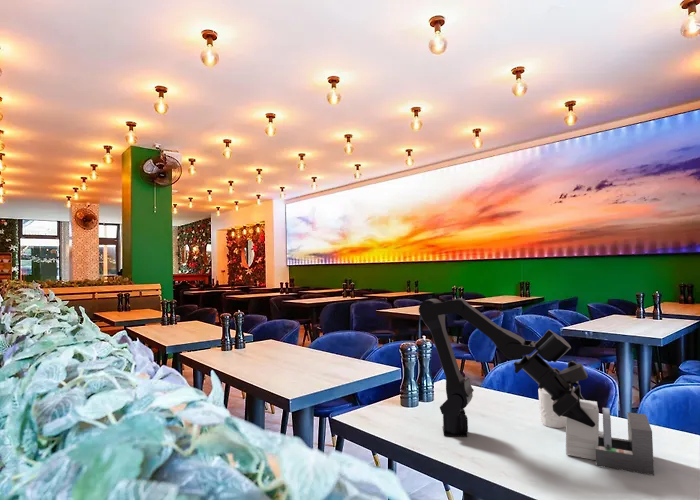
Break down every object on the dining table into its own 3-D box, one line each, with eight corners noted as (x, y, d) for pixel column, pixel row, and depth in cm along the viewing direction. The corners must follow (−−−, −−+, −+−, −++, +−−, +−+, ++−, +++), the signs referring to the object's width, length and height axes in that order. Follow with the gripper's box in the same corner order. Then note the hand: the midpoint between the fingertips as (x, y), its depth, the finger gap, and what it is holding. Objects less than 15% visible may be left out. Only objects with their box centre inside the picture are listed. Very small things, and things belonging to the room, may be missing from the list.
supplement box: (597, 449, 114) (598, 401, 114) (598, 461, 108) (599, 410, 108) (565, 443, 118) (566, 396, 118) (564, 454, 111) (565, 404, 111)
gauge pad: (605, 463, 105) (603, 420, 105) (604, 446, 114) (602, 407, 114) (612, 464, 104) (611, 421, 104) (610, 447, 113) (609, 408, 113)
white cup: (571, 429, 128) (570, 395, 128) (542, 428, 129) (541, 394, 130) (564, 420, 136) (562, 387, 136) (536, 418, 137) (535, 386, 137)
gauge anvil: (596, 465, 105) (594, 423, 106) (595, 446, 116) (593, 408, 116) (654, 475, 100) (652, 431, 100) (647, 454, 111) (645, 414, 111)
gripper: (563, 360, 106) (621, 411, 101) (566, 346, 123) (615, 389, 117) (531, 391, 110) (584, 442, 104) (538, 373, 126) (584, 416, 121)
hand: (593, 420), depth 111 cm, fingers closed on supplement box, 8 cm apart
